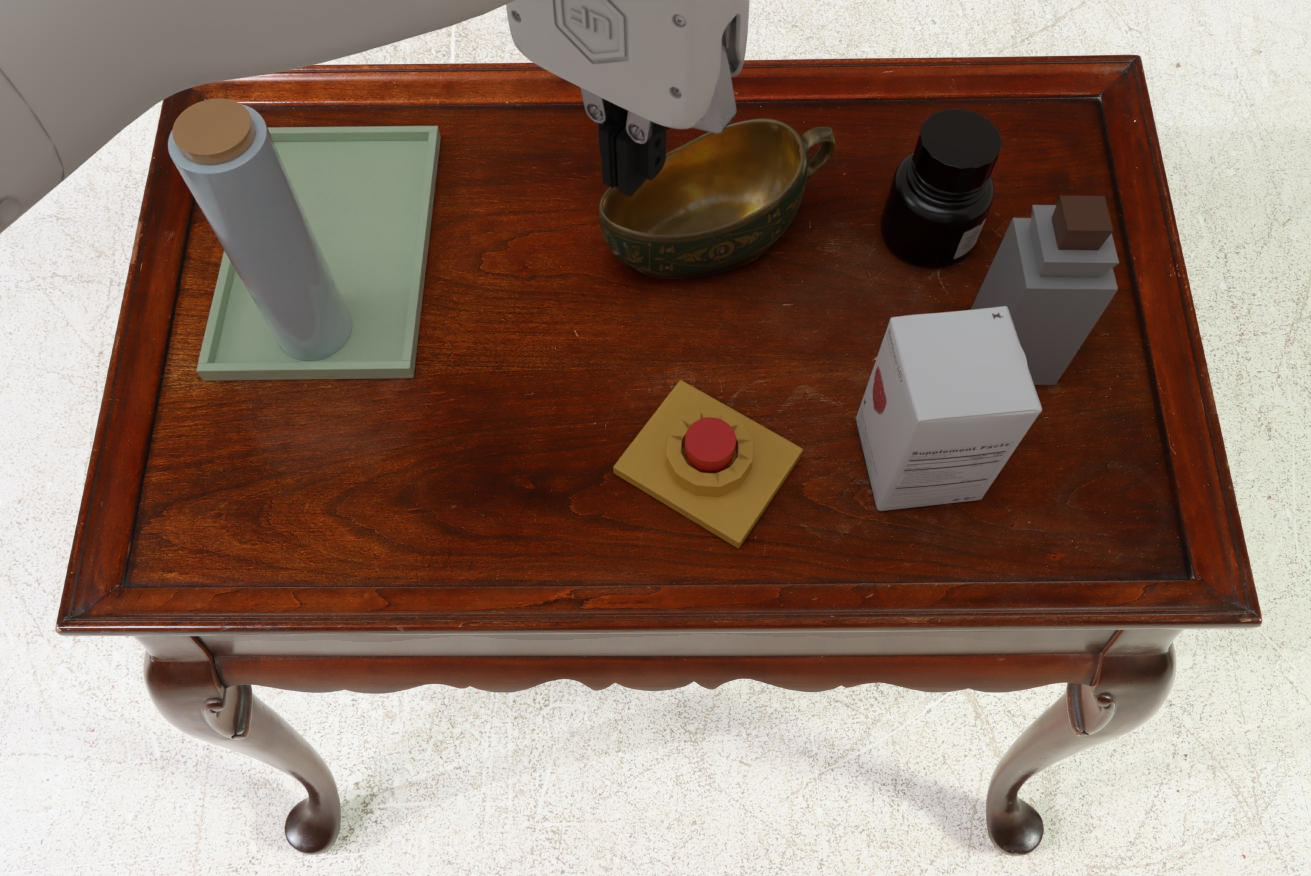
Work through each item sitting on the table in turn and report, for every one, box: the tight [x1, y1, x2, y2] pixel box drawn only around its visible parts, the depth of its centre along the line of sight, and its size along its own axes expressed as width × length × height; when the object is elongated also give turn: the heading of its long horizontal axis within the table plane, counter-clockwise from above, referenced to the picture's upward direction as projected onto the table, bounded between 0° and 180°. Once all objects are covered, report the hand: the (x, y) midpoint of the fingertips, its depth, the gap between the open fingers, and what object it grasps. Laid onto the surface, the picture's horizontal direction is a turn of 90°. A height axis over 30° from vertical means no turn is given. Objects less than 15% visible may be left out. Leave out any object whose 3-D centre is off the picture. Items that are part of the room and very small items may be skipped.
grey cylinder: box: [167, 97, 352, 361], centre depth 80 cm, size 7×7×24 cm
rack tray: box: [196, 125, 442, 382], centre depth 94 cm, size 28×18×2 cm, turn 1°
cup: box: [598, 117, 836, 280], centre depth 91 cm, size 13×20×10 cm, turn 86°
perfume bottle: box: [970, 195, 1120, 386], centre depth 82 cm, size 7×7×18 cm
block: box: [612, 379, 804, 549], centre depth 83 cm, size 10×12×3 cm
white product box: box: [855, 306, 1043, 512], centre depth 78 cm, size 9×9×15 cm
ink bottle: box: [880, 108, 1003, 267], centre depth 91 cm, size 10×9×12 cm
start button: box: [685, 417, 736, 472], centre depth 81 cm, size 4×4×2 cm
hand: (633, 173), depth 53 cm, fingers closed
